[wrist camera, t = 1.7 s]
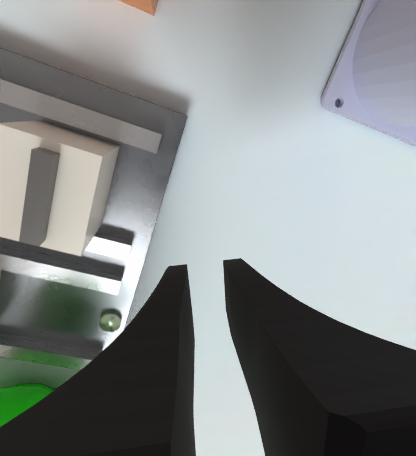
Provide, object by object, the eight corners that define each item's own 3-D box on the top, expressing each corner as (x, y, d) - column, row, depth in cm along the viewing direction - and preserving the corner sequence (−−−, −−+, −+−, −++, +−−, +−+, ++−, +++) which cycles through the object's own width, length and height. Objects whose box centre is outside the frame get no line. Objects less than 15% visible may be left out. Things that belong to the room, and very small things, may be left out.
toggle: (119, 145, 16) (98, 159, 11) (101, 225, 17) (76, 263, 13) (40, 119, 15) (-15, 123, 11) (28, 205, 17) (-24, 240, 12)
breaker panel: (186, 115, 17) (188, 116, 14) (116, 353, 23) (108, 384, 20) (-97, 12, 14) (-160, -10, 11) (-95, 315, 20) (-137, 346, 17)
